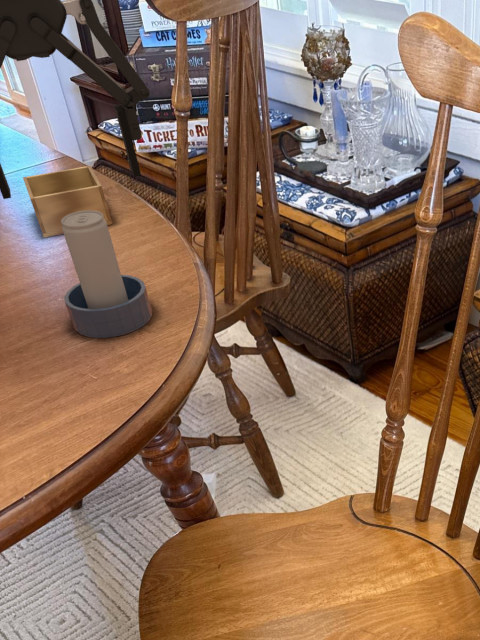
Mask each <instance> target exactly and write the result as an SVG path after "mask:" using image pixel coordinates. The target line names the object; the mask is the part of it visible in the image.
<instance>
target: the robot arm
mask: <svg viewBox="0 0 480 640" xmlns="http://www.w3.org/2000/svg"><path fill="white" fill-rule="evenodd" d="M68 15H70V16H72V17H74V19H75V20H76V22H77V23H78V24H79V25H83V26H84V25H87V27H88V29H89V30H90V32H91V34H92V35H93V36H94V38H95V39H96V40H97V42H98V43H99V44H100V45H101V47H102V48H103V50H105V52H106V54H107V55H108V57H109V58H110V59H111V60H112V62H113V63H114V65H115V66H116V67H117V68H118V70H119V71H120V73H121V74H122V75H123V77H124V78H125V80H126V81H127V82H128V83H129V85H130V87H128V88H124V87H123V86H122V85H121V84H120V83H119V82H117V80H115V79H114V78H113V77H112V76H111V75H110V74H109V73H107V72H106V70H104V69H103V68H101V67H100V65H98V64H97V63H96V62H95V61H93V60H92V59H91V58H90V57H89V56H88V55H87V54H85V53H84V52H83V51H82V50H81V49H80V48H79V47H77V45H75V44H74V42H72V41H71V40H70V38H68V37H67V36H65V35H64V33H63V31H64V27H65V24H66V21H67V16H68ZM56 50H57V51H58V52H59V53H60V54H61V55H62V56H63V57H65V58H66V59H67V60H69V61H71V63H72V64H74V65H75V66H76V67H77V68H78V69H79V70H81V71H82V72H83V73H84V74H85V75H87V76H88V77H89V78H90V79H91V80H92V81H93V82H95V84H97V85H98V86H100V87H101V88H102V89H103V90H104V91H105V92H107V94H109V95H110V96H111V97H112V98H114V100H116V101H117V102H118V103H119V104H113V107H114V111H115V115H116V119H117V122H118V125H119V130H120V134H121V137H122V141H123V144H124V149H125V153H126V156H127V160H128V164H129V167H130V170H131V173H132V176H133V177H134V178H135V177H141V176H142V172H141V169H140V165H139V160H138V158H137V153H136V150H135V145H134V142H135V141H140V140H142V134H143V133H142V130H141V126H140V122H139V117H138V114H137V109H136V108H137V107H136V106H137V104H138V103H139V102H142V100H147V99H148V98H149V97H150V95H151V94H150V93H151V91H150V89H149V88H148V86H147V84H145V82H144V80H143V78H141V76H140V75H139V74H138V73H137V71H136V70H135V68H134V67H133V65H132V64H131V62H129V60H128V59H127V57H126V56H125V54H124V53H123V52H122V51H121V49H120V48H119V47H118V45H117V44H116V42H115V41H114V40H113V38H112V37H111V35H110V34H109V32H108V31H107V30H106V28H105V27H104V26H103V24H102V23H101V22H100V19H99V16H98V13H97V11H96V8H95V6H94V2H93V0H0V69H1V68H2V67H3V63H4V61H5V59H6V57H7V58H9V59H12V60H15V61H16V62H22V61H26V60H29V59H31V58H32V57H34V58H40V59H44V58H50V57H51V55H53V54H54V53H55V52H56ZM0 193H1V196H2V199H3V200H8V199H11V198H12V194H11V188H10V186H9V182H8V180H7V177H6V174H5V172H4V170H3V167H2V163H0Z"/></svg>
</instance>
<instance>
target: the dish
mask: <svg viewBox="0 0 480 640" xmlns="http://www.w3.org/2000/svg"><path fill="white" fill-rule="evenodd" d="M121 276H122V280H123V283H124V286H125V290H126V293H127V297H128V300H129V301H127V302H125V303H122V304H120V305H117V306H113V307H108V308H102V309H88V306H87V303H86V300H85V297H84V294H83V291H82V288H81V285H80V282H79V283H76V284H74V285H73V286H72V287H70V288H69V289H68V291H66V293H65V295H64V296H63V301H64V304H65V307H66V310H67V312H68V316H69V319H70V322H71V324H72V326H73V328H74V330H75V332H77V333H78V334H80V335H82V336H84V337H87V338H94V339H107V338H115V337H120V336H124V335H127V334H130V333H132V332H133V333H134V332H136V331H137V330H139V329H142V327H144V326H145V325H147V324H148V322H149V321H150V320H151V318H152V316H153V309H152V305H151V301H150V297H149V294H148V291H147V287H146V284H145V282H144V281H143V280H141V278H139V277H137V276H133V275H130V274H121Z"/></svg>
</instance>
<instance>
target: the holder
mask: <svg viewBox="0 0 480 640" xmlns="http://www.w3.org/2000/svg"><path fill="white" fill-rule="evenodd" d="M22 179H23V182H24V186H25V188H26V191H27V194H28V197H29V199H30V202H31V205H32V208H33V211H34V214H35V216H36V220H37V222H38V225H39V228H40V230H41V233H42V237H43V238H49V237H54V236H60V235H64V233H63V230H62V226H63V225H62V223H61V220H62V218H64V217H65V216H67V215H69V214H71V213H74V212H78V211H86V210H93V211H99V212H101V213H102V214H103V218H104V219H105V220H106V223H107V226H109V225H113V221H112V218H111V214H110V210H109V206H108V202H107V200H106V196H105V193H104V189H103V185H102V184H101V182H100V181H99V179H98V177H97V175H96V173H95V172H94V169H93V167H92V166H91V165H87V166H86V165H85V166H80V167H74V168H69V169H64V170H57V171H52V172H45V173H40V174H35V175H29V176H23V177H22Z"/></svg>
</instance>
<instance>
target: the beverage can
mask: <svg viewBox="0 0 480 640" xmlns="http://www.w3.org/2000/svg"><path fill="white" fill-rule="evenodd" d="M61 223H62V225H63V226H62V230H63V233H64V234H63V236H64V239H65V242H66V245H67V248H68V251H69V254H70V257H71V261H72V264H73V267H74V269H75V272H76V275H77V279H78V281H79V283H80V285H81V288H82V291H83V294H84V297H85V300H86V303H87V306H88V309H102V308H108V307H113V306H117V305H120V304H122V303H125V302H127V301H129V300H128V297H127V293H126V290H125V286H124V283H123V280H122V276H121V275H122V273H121V269H120V266H119V262H118V258H117V256H116V251H115V247H114V243H113V240H112V237H111V234H110V230H109V225H107V223H106V220H105V219H104V218H103V214H102V213H101V212H99V211H93V210H86V211H78V212H74V213H71V214H69V215H67V216H65V217H64V218H62V220H61Z"/></svg>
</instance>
